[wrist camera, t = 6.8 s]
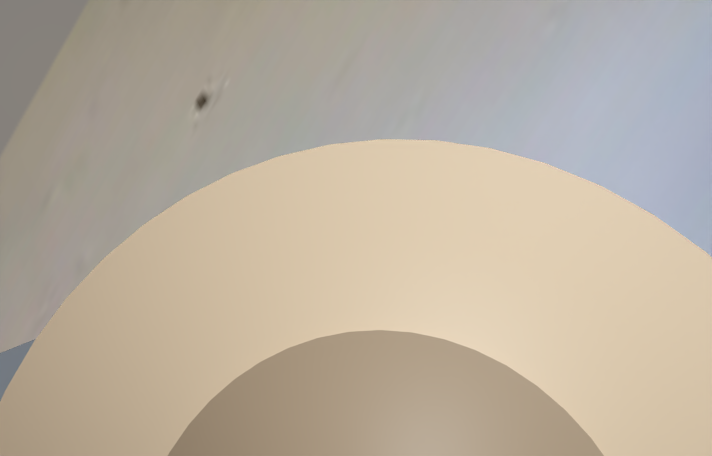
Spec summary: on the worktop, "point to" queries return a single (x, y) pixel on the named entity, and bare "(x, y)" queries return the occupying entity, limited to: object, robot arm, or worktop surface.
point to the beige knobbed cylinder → (380, 319)
